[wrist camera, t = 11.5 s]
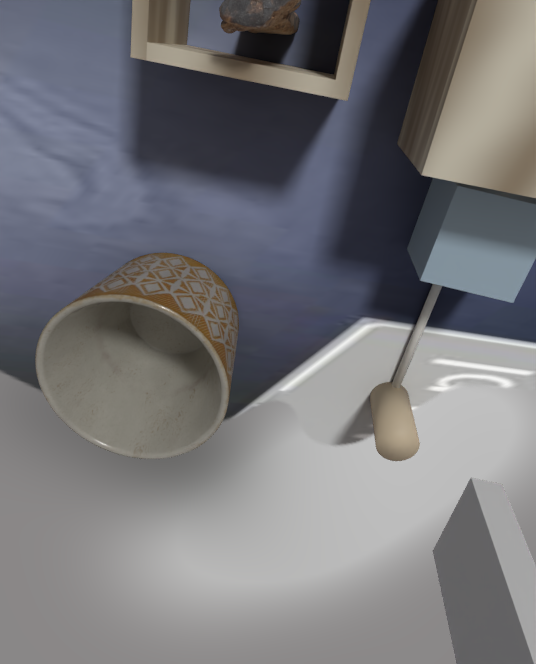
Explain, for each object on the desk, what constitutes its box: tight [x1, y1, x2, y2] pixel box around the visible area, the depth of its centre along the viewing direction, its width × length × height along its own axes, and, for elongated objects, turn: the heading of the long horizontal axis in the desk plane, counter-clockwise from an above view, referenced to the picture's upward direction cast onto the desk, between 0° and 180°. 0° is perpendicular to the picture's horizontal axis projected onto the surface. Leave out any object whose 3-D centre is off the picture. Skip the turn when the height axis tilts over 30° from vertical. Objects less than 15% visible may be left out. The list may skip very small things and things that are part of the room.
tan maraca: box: [370, 178, 536, 461], centre depth 36 cm, size 6×21×6 cm, turn 168°
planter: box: [35, 253, 239, 459], centre depth 37 cm, size 13×13×10 cm
